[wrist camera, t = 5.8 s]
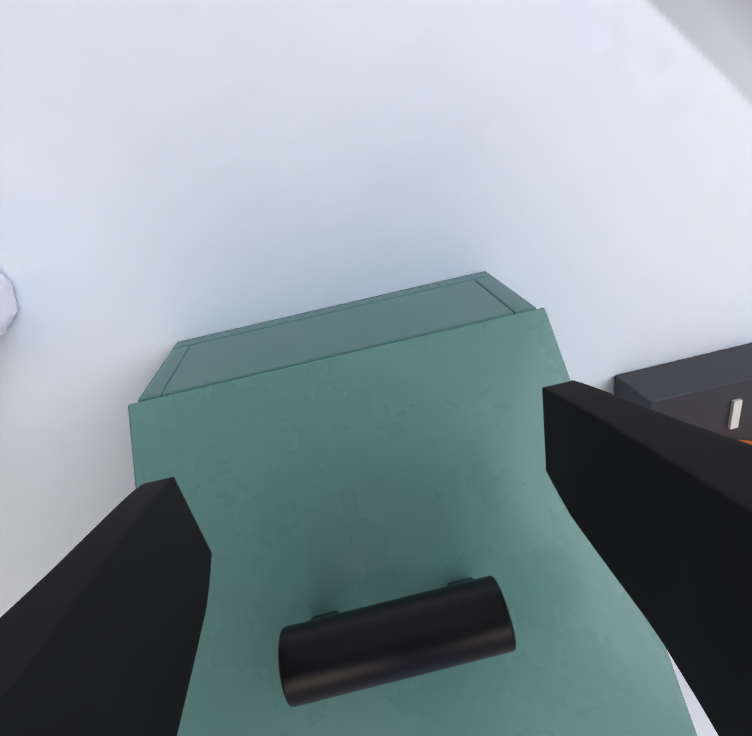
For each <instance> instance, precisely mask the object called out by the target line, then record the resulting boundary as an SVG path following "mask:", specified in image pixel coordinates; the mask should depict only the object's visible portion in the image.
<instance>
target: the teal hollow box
mask: <svg viewBox="0 0 752 736" xmlns="http://www.w3.org/2000/svg"><path fill="white" fill-rule="evenodd" d="M532 310H536V308H535V307H534V306H533V305H532V304H530V303H529V302H527V301H526V300H525V299H523V298H522V297H520V296H519V295H518V294H516V293H515V292H513V291H512V290H511V289H509V288H508V287H506V286H505V285H504V284H502V283H501V282H499V281H498V280H497V279H495V278H494V277H492V276H491V275H490V274H488V273H487V272H485V271H484V272H480V273H475V274H471V275H467V276H462V277H458V278H454V279H449V280H445V281H441V282H436V283H432V284H428V285H423V286H419V287H415V288H410V289H406V290H402V291H397V292H393V293H389V294H385V295H380V296H376V297H372V298H367V299H363V300H359V301H354V302H350V303H346V304H341V305H337V306H333V307H328V308H324V309H320V310H315V311H311V312H307V313H302V314H298V315H294V316H289V317H285V318H281V319H276V320H272V321H268V322H263V323H259V324H255V325H250V326H246V327H242V328H237V329H233V330H229V331H224V332H220V333H216V334H211V335H207V336H203V337H198V338H194V339H190V340H185V341H181V342H177V343H176V345H175V346H174V348H173V350H172V351H171V352H170V354H169V355H168V357H167V358H166V360H165V361H164V363H163V364H162V366H161V367H160V369H159V370H158V372H157V373H156V375H155V376H154V378H153V379H152V380H151V382H150V383H149V385H148V386H147V388H146V389H145V391H144V392H143V394H142V395H141V397H140V398H139V400H138V402H143V401H147V400H151V399H156V398H160V397H164V396H169V395H173V394H177V393H181V392H186V391H190V390H194V389H198V388H203V387H207V386H211V385H216V384H220V383H224V382H228V381H233V380H237V379H241V378H245V377H250V376H254V375H258V374H263V373H267V372H271V371H275V370H280V369H284V368H288V367H292V366H297V365H301V364H305V363H310V362H314V361H318V360H322V359H327V358H331V357H335V356H339V355H344V354H348V353H352V352H357V351H361V350H365V349H369V348H374V347H378V346H382V345H386V344H391V343H395V342H399V341H404V340H408V339H412V338H416V337H421V336H425V335H429V334H433V333H438V332H442V331H446V330H451V329H455V328H459V327H463V326H468V325H472V324H476V323H480V322H485V321H489V320H493V319H498V318H502V317H506V316H510V315H515V314H519V313H523V312H527V311H532Z"/></svg>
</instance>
